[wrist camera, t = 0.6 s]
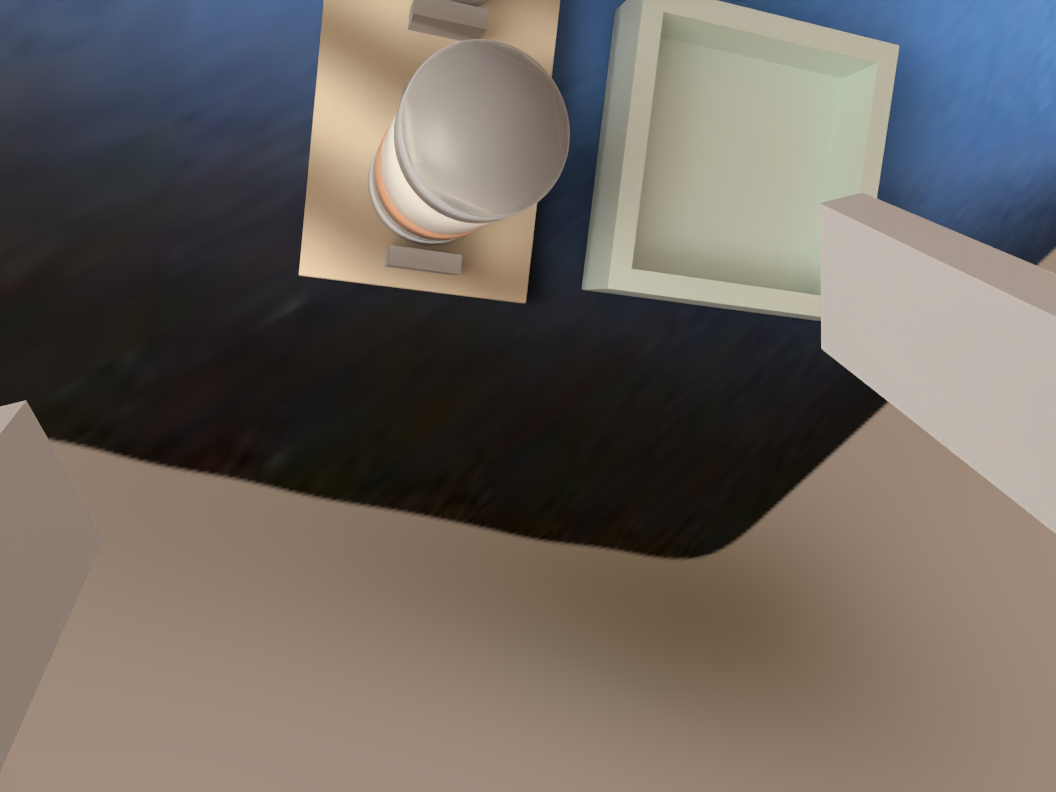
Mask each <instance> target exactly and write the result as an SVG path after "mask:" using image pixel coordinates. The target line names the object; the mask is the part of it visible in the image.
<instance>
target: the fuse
mask: <svg viewBox="0 0 1056 792" xmlns="http://www.w3.org/2000/svg"><path fill="white" fill-rule="evenodd" d="M449 1H453V2H458V3H462V4H467V5H471V6H476V7H478V6H481V5H483V4H484V3H486V2H487V1H489V0H449Z"/></svg>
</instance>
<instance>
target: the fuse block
mask: <svg viewBox="0 0 1056 792" xmlns="http://www.w3.org/2000/svg"><path fill="white" fill-rule="evenodd" d="M559 8H560V0H489V1H487V2H486V3H484V4H483V5H481V6H478V7H476V6H471V5H467V4H462V3H458V2H453V1H449V0H324V4H323V15H322V26H321V37H320V48H319V59H318V70H317V81H316V92H315V103H314V114H313V125H312V136H311V147H310V158H309V169H308V180H307V191H306V202H305V213H304V224H303V235H302V246H301V257H300V268H299V276H305V277H313V278H321V279H329V280H337V281H345V282H353V283H361V284H369V285H377V286H385V287H394V288H402V289H410V290H418V291H426V292H434V293H442V294H450V295H458V296H466V297H474V298H482V299H490V300H498V301H506V302H514V303H526V296H527V287H528V279H529V270H530V261H531V252H532V244H533V235H534V226H535V218H536V209H537V203H536V204H534V205H533V206H532V207H530V208H528V209H526V210H524V211H522V212H520V213H518V214H515V215H513V216H511V217H508V218H505V219H502V220H500V221H496V222H492V223H490V224H487V225H485V226H483V227H482V228H480V229H478V230H476V231H474V232H472V233H469V234H467V235H464V236H462V237H459V238H457V239H455V240H452V241H450V242H447V243H444V244H439V245H419V244H414V243H411V242H408V241H406V240H404V239H402V238H400V237H398V236H397V235H395V234H394V233H392V232H391V231H390V230H389V229H388V228H387V227H386V226H385V225H384V224H383V223H382V222H381V220H380V219H379V217H378V216H377V214H376V212H375V210H374V209H373V206H372V203H371V201H370V197H369V192H368V173H369V168H370V165H371V161H372V159H373V157H374V155H375V153H376V151H377V149H378V147H379V145H380V142H381V140H382V138H383V136H384V134H385V132H386V130H387V128H388V127H389V125H390V124H391V122H392V121H393V119H394V117H395V115H396V113H397V110H398V106H399V103H400V101H401V99H402V97H403V95H404V93H405V91H406V89H407V87H408V84H409V82H410V80H411V79H412V77H413V76H414V74H415V73H416V71H417V70H418V69H419V67H420V66H421V65H422V64H423V63H424V62H425V61H426V60H427V59H428V58H429V57H430V56H432V55H433V54H434V53H436V52H437V51H439V50H441V49H442V48H444V47H446V46H449V45H451V44H453V43H457V42H460V41H464V40H472V39H488V40H495V41H499V42H503V43H506V44H509V45H511V46H514V47H516V48H518V49H520V50H522V51H523V52H525V53H527V54H528V55H530V56H531V57H532V58H533V59H535V60H536V61H537V62H538V63H539V64H540V65H541V66H542V67H543V68H544V69H545V70H546V71H547V72H548V74H549V75H550V76H551V78H552V69H553V60H554V51H555V43H556V34H557V25H558V16H559Z"/></svg>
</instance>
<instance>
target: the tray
mask: <svg viewBox="0 0 1056 792" xmlns="http://www.w3.org/2000/svg"><path fill="white" fill-rule="evenodd" d="M899 46H900V45H896V44H892V43H888V42H884V41H880V40H875V39H871V38H867V37H863V36H859V35H855V34H851V33H847V32H843V31H839V30H835V29H831V28H827V27H823V26H819V25H815V24H811V23H807V22H803V21H799V20H795V19H791V18H787V17H783V16H779V15H775V14H771V13H767V12H763V11H759V10H755V9H751V8H747V7H743V6H738V5H734V4H730V3H726V2H722V1H718V0H626V1H625V2H624V3H623V4H622V5H620V6H619V7H618V8H617V9H616V10H615V14H614V23H613V31H612V39H611V48H610V56H609V64H608V73H607V81H606V89H605V98H604V106H603V114H602V123H601V131H600V139H599V148H598V156H597V164H596V173H595V181H594V189H593V198H592V206H591V214H590V223H589V231H588V239H587V248H586V256H585V264H584V273H583V281H582V290H588V291H595V292H603V293H610V294H618V295H626V296H633V297H641V298H648V299H656V300H664V301H671V302H679V303H686V304H694V305H701V306H709V307H717V308H724V309H732V310H739V311H747V312H755V313H762V314H770V315H777V316H785V317H793V318H800V319H808V320H817V321H821V271H820V203H822V202H826V201H830V200H834V199H838V198H842V197H846V196H850V195H854V194H858V193H865V194H867V195H869V196H872V197H874V198H877V194H878V188H879V181H880V174H881V167H882V161H883V154H884V147H885V140H886V134H887V127H888V120H889V114H890V107H891V100H892V93H893V87H894V80H895V73H896V67H897V60H898V53H899Z"/></svg>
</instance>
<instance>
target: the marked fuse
mask: <svg viewBox="0 0 1056 792" xmlns="http://www.w3.org/2000/svg"><path fill="white" fill-rule="evenodd" d="M569 140H570V128H569V119H568V114H567V109H566V106H565V103H564V100H563V98H562V95H561V93H560V91H559V89H558V87H557V85H556V84H555V82H554V80H553V79H552V78H551V76H550V75H549V74H548V72H547V71H546V70H545V69H544V68H543V67H542V66H541V65H540V64H539V63H538V62H537V61H536V60H535V59H533V58H532V57H531V56H530V55H528V54H527V53H525V52H523V51H522V50H520V49H518V48H516V47H514V46H511V45H509V44H506V43H503V42H499V41H495V40H488V39H472V40H464V41H460V42H457V43H453V44H451V45H449V46H446V47H444V48H442V49H441V50H439V51H437V52H436V53H434V54H433V55H432V56H430V57H429V58H428V59H427V60H426V61H425V62H424V63H423V64H422V65H421V66H420V67H419V69H418V70H417V71H416V73H415V74H414V76H413V77H412V79H411V80H410V82H409V84H408V87H407V89H406V91H405V93H404V95H403V97H402V99H401V101H400V103H399V106H398V110H397V113H396V115H395V117H394V119H393V121H392V122H391V124H390V125H389V127H388V128H387V130H386V132H385V134H384V136H383V138H382V140H381V142H380V145H379V147H378V149H377V151H376V153H375V155H374V157H373V159H372V161H371V165H370V168H369V173H368V192H369V197H370V201H371V203H372V206H373V209H374V210H375V212H376V214H377V216H378V217H379V219H380V220H381V222H382V223H383V224H384V225H385V226H386V227H387V228H388V229H389V230H390V231H391V232H392V233H394V234H395V235H397V236H398V237H400V238H402V239H404V240H406V241H408V242H411V243H414V244H419V245H439V244H444V243H447V242H450V241H452V240H455V239H457V238H459V237H462V236H464V235H467V234H469V233H472V232H474V231H476V230H478V229H480V228H482V227H483V226H485V225H487V224H490V223H492V222H496V221H500V220H502V219H505V218H508V217H511V216H513V215H515V214H518V213H520V212H522V211H524V210H526V209H528V208H530V207H532V206H533V205H534V204H536V203H537V202H539V201H540V200H541V199H542V198H543V197H544V196H545V195H546V194H547V193H548V192H549V191H550V190H551V188H552V187H553V186H554V184H555V183H556V181H557V180H558V178H559V176H560V174H561V172H562V170H563V168H564V165H565V162H566V158H567V155H568V149H569Z"/></svg>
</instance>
